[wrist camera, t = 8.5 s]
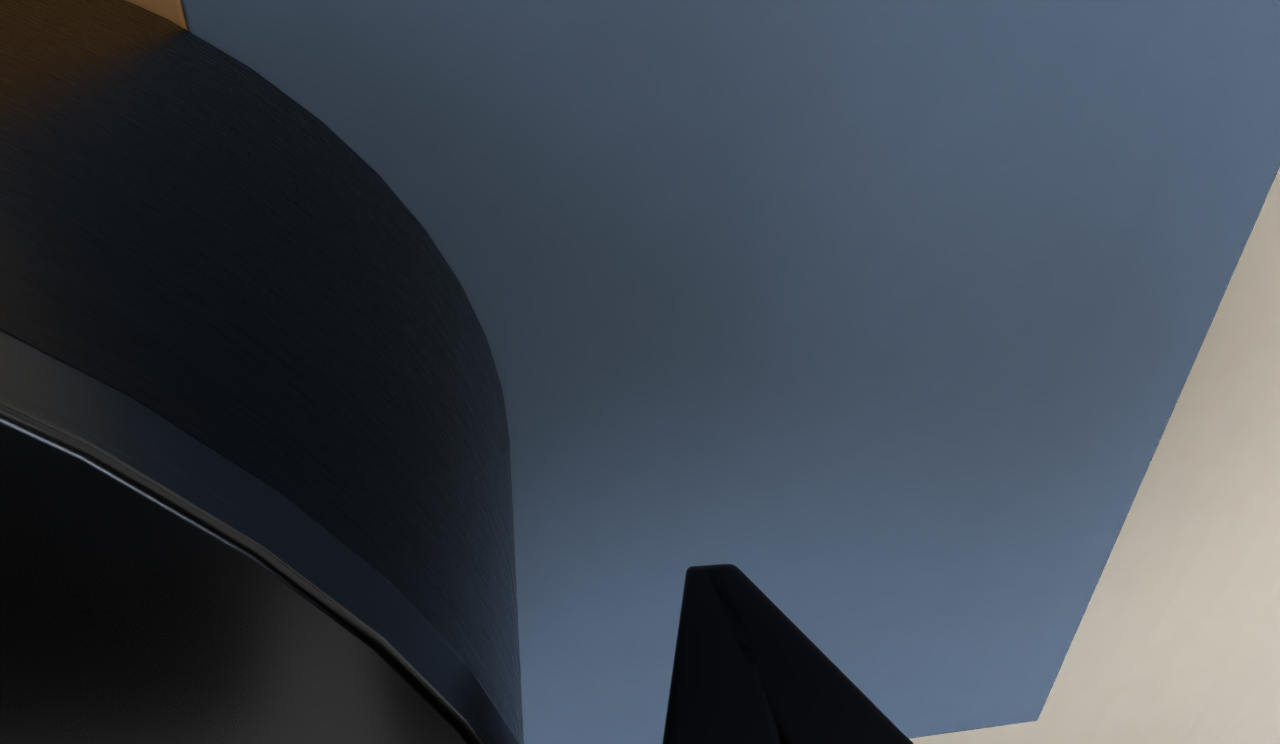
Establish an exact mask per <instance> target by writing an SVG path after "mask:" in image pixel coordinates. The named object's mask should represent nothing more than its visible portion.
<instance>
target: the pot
mask: <svg viewBox="0 0 1280 744" xmlns="http://www.w3.org/2000/svg"><path fill="white" fill-rule="evenodd" d="M0 744H524V734H523V712H522V691H521V670H520V649H519V627H518V606H517V585H516V564H515V542H514V521H513V500H512V479H511V457H510V438H509V431H508V424H507V417H506V410H505V403H504V396H503V390H502V386H501V383H500V380H499V376H498V373H497V370H496V367H495V363H494V360H493V357H492V353H491V350H490V347H489V344H488V340H487V338H486V335H485V333H484V331H483V329H482V327H481V325H480V323H479V321H478V318H477V316H476V314H475V312H474V310H473V308H472V306H471V304H470V302H469V299H468V297H467V295H466V293H465V291H464V289H463V287H462V285H461V283H460V282H459V280H458V279H457V277H456V275H455V274H454V272H453V271H452V269H451V268H450V266H449V265H448V263H447V262H446V260H445V259H444V257H443V255H442V254H441V252H440V251H439V249H438V248H437V246H436V245H435V243H434V242H433V240H432V238H431V237H430V235H429V234H428V232H427V231H426V229H425V228H424V227H423V226H422V225H421V223H420V222H419V221H418V220H417V219H416V218H415V216H414V215H413V214H412V213H411V212H410V210H409V209H408V208H407V207H406V206H405V205H404V203H403V202H402V201H401V200H400V199H399V197H398V196H397V195H396V194H395V193H394V192H393V190H392V189H391V188H390V187H389V186H388V184H387V183H386V182H385V181H384V180H383V179H382V177H381V176H380V175H379V174H378V173H377V172H376V171H375V170H374V169H373V168H372V167H370V166H369V165H368V164H367V163H366V162H365V161H364V160H363V159H362V158H361V157H360V156H359V155H358V154H357V153H355V152H354V151H353V150H352V149H351V148H350V147H349V146H348V145H347V144H346V143H345V142H344V141H343V140H342V139H340V138H339V137H338V136H337V135H336V134H335V133H334V132H333V131H332V130H331V129H330V128H329V127H328V126H327V125H325V124H324V123H323V122H322V121H321V120H320V119H319V118H317V117H316V116H315V115H313V114H312V113H311V112H309V111H308V110H307V109H305V108H304V107H303V106H301V105H300V104H298V103H297V102H296V101H294V100H293V99H292V98H290V97H289V96H288V95H286V94H285V93H284V92H282V91H281V90H280V89H278V88H277V87H276V86H274V85H273V84H272V83H270V82H269V81H268V80H266V79H265V78H263V77H262V76H261V75H259V74H258V73H257V72H255V71H254V70H253V69H251V68H250V67H248V66H247V65H245V64H243V63H241V62H240V61H238V60H236V59H235V58H233V57H231V56H230V55H228V54H226V53H224V52H223V51H221V50H219V49H218V48H216V47H214V46H212V45H211V44H209V43H207V42H206V41H204V40H202V39H201V38H199V37H197V36H195V35H194V34H192V33H190V32H189V31H187V30H185V29H184V28H182V27H180V26H178V25H177V24H175V23H173V22H172V21H170V20H168V19H166V18H164V17H161V16H159V15H157V14H155V13H153V12H150V11H148V10H146V9H144V8H142V7H139V6H137V5H135V4H133V3H131V2H128V1H126V0H0Z"/></svg>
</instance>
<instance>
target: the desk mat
mask: <svg viewBox="0 0 1280 744" xmlns="http://www.w3.org/2000/svg"><path fill="white" fill-rule="evenodd" d="M126 1H128V2H131V3H133V4H135V5H137V6H139V7H142V8H144V9H146V10H148V11H150V12H153V13H155V14H157V15H159V16H161V17H164V18H166V19H168V20H170V21H172V22H173V23H175V24H177V25H178V26H180V27H182V28H184V29H185V30H187V31H189V32H190V33H192V34H194V35H195V36H197V37H199V38H201V39H202V40H204V41H206V42H207V43H209V44H211V45H212V46H214V47H216V48H218V49H219V50H221V51H223V52H224V53H226V54H228V55H230V56H231V57H233V58H235V59H236V60H238V61H240V62H241V63H243V64H245V65H247V66H248V67H250V68H251V69H253V70H254V71H255V72H257V73H258V74H259V75H261V76H262V77H263V78H265V79H266V80H268V81H269V82H270V83H272V84H273V85H274V86H276V87H277V88H278V89H280V90H281V91H282V92H284V93H285V94H286V95H288V96H289V97H290V98H292V99H293V100H294V101H296V102H297V103H298V104H300V105H301V106H303V107H304V108H305V109H307V110H308V111H309V112H311V113H312V114H313V115H315V116H316V117H317V118H319V119H320V120H321V121H322V122H323V123H324V124H325V125H327V126H328V127H329V128H330V129H331V130H332V131H333V132H334V133H335V134H336V135H337V136H338V137H339V138H340V139H342V140H343V141H344V142H345V143H346V144H347V145H348V146H349V147H350V148H351V149H352V150H353V151H354V152H355V153H357V154H358V155H359V156H360V157H361V158H362V159H363V160H364V161H365V162H366V163H367V164H368V165H369V166H370V167H372V168H373V169H374V170H375V171H376V172H377V173H378V174H379V175H380V176H381V177H382V179H383V180H384V181H385V182H386V183H387V184H388V186H389V187H390V188H391V189H392V190H393V192H394V193H395V194H396V195H397V196H398V197H399V199H400V200H401V201H402V202H403V203H404V205H405V206H406V207H407V208H408V209H409V210H410V212H411V213H412V214H413V215H414V216H415V218H416V219H417V220H418V221H419V222H420V223H421V225H422V226H423V227H424V228H425V229H426V231H427V232H428V234H429V235H430V237H431V238H432V240H433V242H434V243H435V245H436V246H437V248H438V249H439V251H440V252H441V254H442V255H443V257H444V259H445V260H446V262H447V263H448V265H449V266H450V268H451V269H452V271H453V272H454V274H455V275H456V277H457V279H458V280H459V282H460V283H461V285H462V287H463V289H464V291H465V293H466V295H467V297H468V299H469V302H470V304H471V306H472V308H473V310H474V312H475V314H476V316H477V318H478V321H479V323H480V325H481V327H482V329H483V331H484V333H485V335H486V338H487V340H488V344H489V347H490V350H491V353H492V357H493V360H494V363H495V367H496V370H497V373H498V376H499V380H500V383H501V386H502V390H503V396H504V403H505V410H506V417H507V424H508V431H509V438H510V457H511V479H512V500H513V521H514V542H515V564H516V585H517V606H518V627H519V649H520V670H521V691H522V712H523V734H524V744H662V743H663V736H664V729H665V721H666V714H667V707H668V699H669V692H670V685H671V678H672V670H673V663H674V656H675V649H676V641H677V634H678V627H679V619H680V612H681V605H682V598H683V590H684V583H685V576H686V571H687V569H688V568H689V567H692V566H703V565H716V564H733V565H735V566H737V567H738V568H739V569H740V570H741V571H742V572H743V573H744V574H745V575H746V576H747V577H748V578H749V579H750V580H751V581H752V582H753V583H754V584H755V585H756V586H757V587H758V588H759V589H760V590H761V591H762V592H763V593H764V594H765V595H766V596H767V597H768V598H769V599H770V600H771V601H772V602H773V603H774V604H775V605H776V606H777V607H778V608H779V609H780V610H781V611H782V612H783V613H784V614H785V615H786V616H787V617H788V618H789V619H790V620H791V621H792V622H793V623H794V624H795V625H796V626H797V627H798V628H799V629H800V630H801V631H802V632H803V633H804V634H805V635H806V636H807V637H808V638H809V639H810V640H811V641H812V642H813V643H814V644H815V645H816V646H817V647H818V648H819V649H820V650H821V651H822V652H823V653H824V654H825V655H826V656H827V657H828V658H829V659H830V660H831V661H832V662H833V663H834V664H835V665H836V666H837V667H838V668H839V669H840V670H841V671H842V672H843V673H844V674H845V675H846V676H847V677H848V678H849V679H850V680H851V681H852V682H853V683H854V684H855V685H856V686H857V687H858V688H859V689H860V690H861V691H862V692H863V693H864V694H865V695H866V696H867V697H868V698H869V699H870V700H871V701H872V702H873V703H874V704H875V705H876V706H877V707H878V708H879V709H880V710H881V711H882V712H883V714H884V715H885V716H886V717H887V718H888V719H889V720H890V721H891V722H892V723H893V724H894V725H895V726H896V727H897V728H898V729H899V730H900V731H901V732H902V733H903V734H904V735H905V736H906V737H907V738H916V737H923V736H930V735H937V734H944V733H951V732H958V731H965V730H973V729H980V728H987V727H994V726H1001V725H1008V724H1015V723H1023V722H1030V721H1036V720H1038V718H1039V715H1040V713H1041V711H1042V709H1043V706H1044V704H1045V702H1046V699H1047V697H1048V695H1049V693H1050V690H1051V688H1052V686H1053V683H1054V681H1055V679H1056V677H1057V674H1058V672H1059V670H1060V667H1061V665H1062V663H1063V661H1064V658H1065V656H1066V654H1067V651H1068V649H1069V647H1070V645H1071V642H1072V640H1073V638H1074V635H1075V633H1076V631H1077V629H1078V626H1079V624H1080V622H1081V619H1082V617H1083V615H1084V613H1085V610H1086V608H1087V606H1088V603H1089V601H1090V599H1091V597H1092V594H1093V592H1094V590H1095V587H1096V585H1097V583H1098V581H1099V578H1100V576H1101V574H1102V572H1103V569H1104V567H1105V565H1106V562H1107V560H1108V558H1109V556H1110V553H1111V551H1112V549H1113V546H1114V544H1115V542H1116V540H1117V537H1118V535H1119V533H1120V530H1121V528H1122V526H1123V524H1124V521H1125V519H1126V517H1127V514H1128V512H1129V510H1130V508H1131V505H1132V503H1133V501H1134V498H1135V496H1136V494H1137V492H1138V489H1139V487H1140V485H1141V482H1142V480H1143V478H1144V476H1145V473H1146V471H1147V469H1148V466H1149V464H1150V462H1151V460H1152V457H1153V455H1154V453H1155V450H1156V448H1157V446H1158V444H1159V441H1160V439H1161V437H1162V434H1163V432H1164V430H1165V428H1166V425H1167V423H1168V421H1169V418H1170V416H1171V414H1172V412H1173V409H1174V407H1175V405H1176V402H1177V400H1178V398H1179V396H1180V393H1181V391H1182V389H1183V386H1184V384H1185V382H1186V380H1187V377H1188V375H1189V373H1190V370H1191V368H1192V366H1193V364H1194V361H1195V359H1196V357H1197V354H1198V352H1199V350H1200V348H1201V345H1202V343H1203V341H1204V338H1205V336H1206V334H1207V332H1208V329H1209V327H1210V325H1211V323H1212V320H1213V318H1214V316H1215V313H1216V311H1217V309H1218V307H1219V304H1220V302H1221V300H1222V297H1223V295H1224V293H1225V291H1226V288H1227V286H1228V284H1229V281H1230V279H1231V277H1232V275H1233V272H1234V270H1235V268H1236V265H1237V263H1238V261H1239V259H1240V256H1241V254H1242V252H1243V249H1244V247H1245V245H1246V243H1247V240H1248V238H1249V236H1250V233H1251V231H1252V229H1253V227H1254V224H1255V222H1256V220H1257V217H1258V215H1259V213H1260V211H1261V208H1262V206H1263V204H1264V201H1265V199H1266V197H1267V195H1268V192H1269V190H1270V188H1271V185H1272V183H1273V181H1274V179H1275V176H1276V174H1277V172H1278V169H1279V167H1280V0H126Z"/></svg>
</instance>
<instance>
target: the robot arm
mask: <svg viewBox="0 0 1280 744" xmlns="http://www.w3.org/2000/svg"><path fill="white" fill-rule="evenodd" d="M662 744H913V743H912V742H911V741H910V740H909V739H908V738H907V737H906V736H905V735H904V734H903V733H902V732H901V731H900V730H899V729H898V728H897V727H896V726H895V725H894V724H893V723H892V722H891V721H890V720H889V719H888V718H887V717H886V716H885V715H884V714H883V712H882V711H881V710H880V709H879V708H878V707H877V706H876V705H875V704H874V703H873V702H872V701H871V700H870V699H869V698H868V697H867V696H866V695H865V694H864V693H863V692H862V691H861V690H860V689H859V688H858V687H857V686H856V685H855V684H854V683H853V682H852V681H851V680H850V679H849V678H848V677H847V676H846V675H845V674H844V673H843V672H842V671H841V670H840V669H839V668H838V667H837V666H836V665H835V664H834V663H833V662H832V661H831V660H830V659H829V658H828V657H827V656H826V655H825V654H824V653H823V652H822V651H821V650H820V649H819V648H818V647H817V646H816V645H815V644H814V643H813V642H812V641H811V640H810V639H809V638H808V637H807V636H806V635H805V634H804V633H803V632H802V631H801V630H800V629H799V628H798V627H797V626H796V625H795V624H794V623H793V622H792V621H791V620H790V619H789V618H788V617H787V616H786V615H785V614H784V613H783V612H782V611H781V610H780V609H779V608H778V607H777V606H776V605H775V604H774V603H773V602H772V601H771V600H770V599H769V598H768V597H767V596H766V595H765V594H764V593H763V592H762V591H761V590H760V589H759V588H758V587H757V586H756V585H755V584H754V583H753V582H752V581H751V580H750V579H749V578H748V577H747V576H746V575H745V574H744V573H743V572H742V571H741V570H740V569H739V568H738V567H737V566H735V565H733V564H716V565H703V566H692V567H689V568H688V569H687V571H686V576H685V583H684V590H683V598H682V605H681V612H680V619H679V627H678V634H677V641H676V649H675V656H674V663H673V670H672V678H671V685H670V692H669V699H668V707H667V714H666V721H665V729H664V736H663V743H662Z"/></svg>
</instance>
